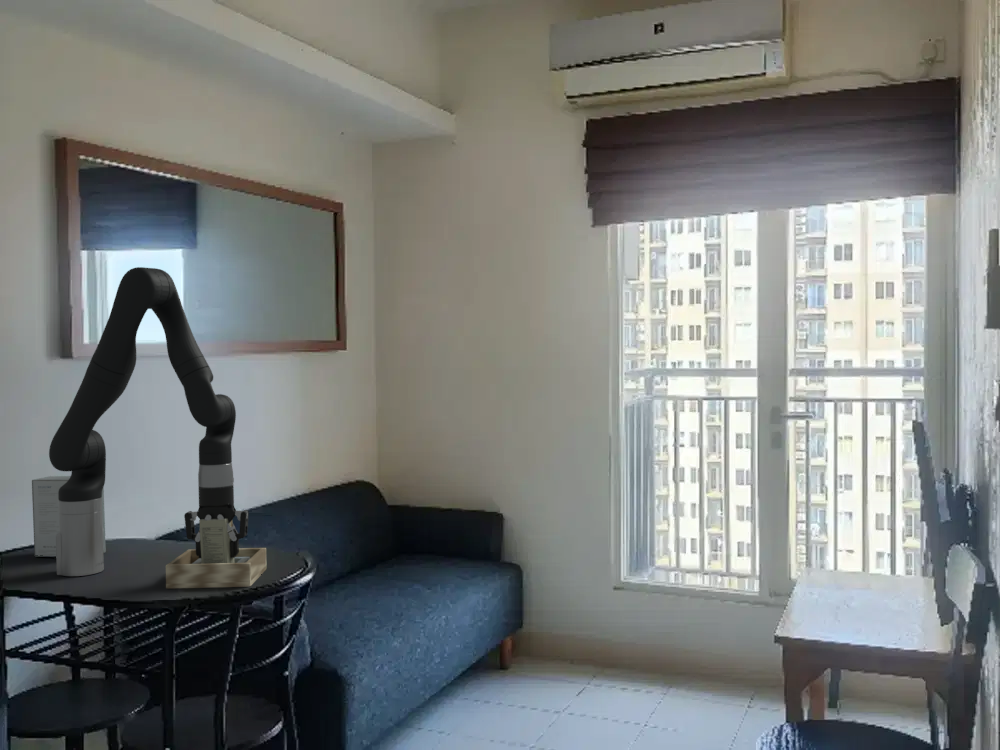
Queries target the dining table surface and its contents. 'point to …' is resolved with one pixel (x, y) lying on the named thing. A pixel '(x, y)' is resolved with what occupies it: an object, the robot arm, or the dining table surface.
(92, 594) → the dining table surface
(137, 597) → the dining table surface
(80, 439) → the robot arm
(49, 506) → the hard drive box
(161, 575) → the dining table surface
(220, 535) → the skincare box
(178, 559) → the walled box
